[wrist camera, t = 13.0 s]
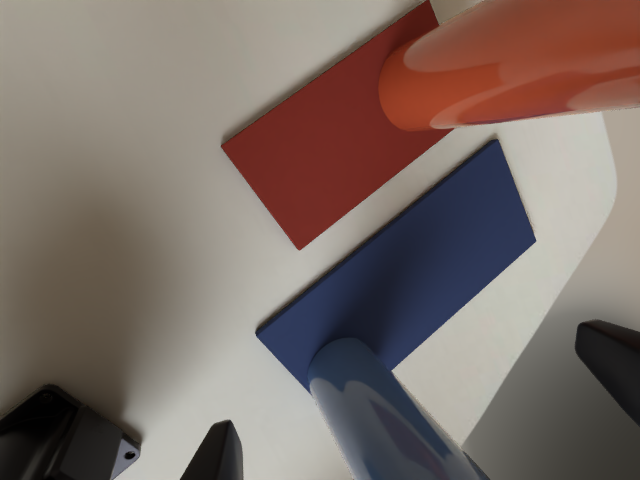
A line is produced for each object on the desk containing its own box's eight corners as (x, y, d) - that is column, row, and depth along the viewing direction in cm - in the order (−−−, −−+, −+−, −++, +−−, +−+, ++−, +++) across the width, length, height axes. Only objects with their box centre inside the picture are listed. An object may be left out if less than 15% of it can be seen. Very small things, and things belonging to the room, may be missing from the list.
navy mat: (332, 415, 23) (335, 420, 23) (254, 332, 20) (256, 336, 20) (530, 239, 26) (536, 241, 26) (492, 139, 23) (498, 138, 22)
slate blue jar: (332, 414, 23) (458, 654, 12) (292, 372, 21) (397, 609, 10) (385, 367, 23) (551, 553, 12) (351, 322, 22) (511, 493, 11)
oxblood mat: (297, 249, 20) (299, 250, 19) (220, 146, 17) (220, 145, 17) (468, 114, 22) (474, 113, 21) (423, 2, 19) (429, -2, 18)
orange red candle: (418, 148, 20) (1053, 128, 5) (362, 94, 18) (1113, -184, 3) (462, 83, 20) (1222, -126, 5) (410, 21, 18) (1386, -589, 3)
